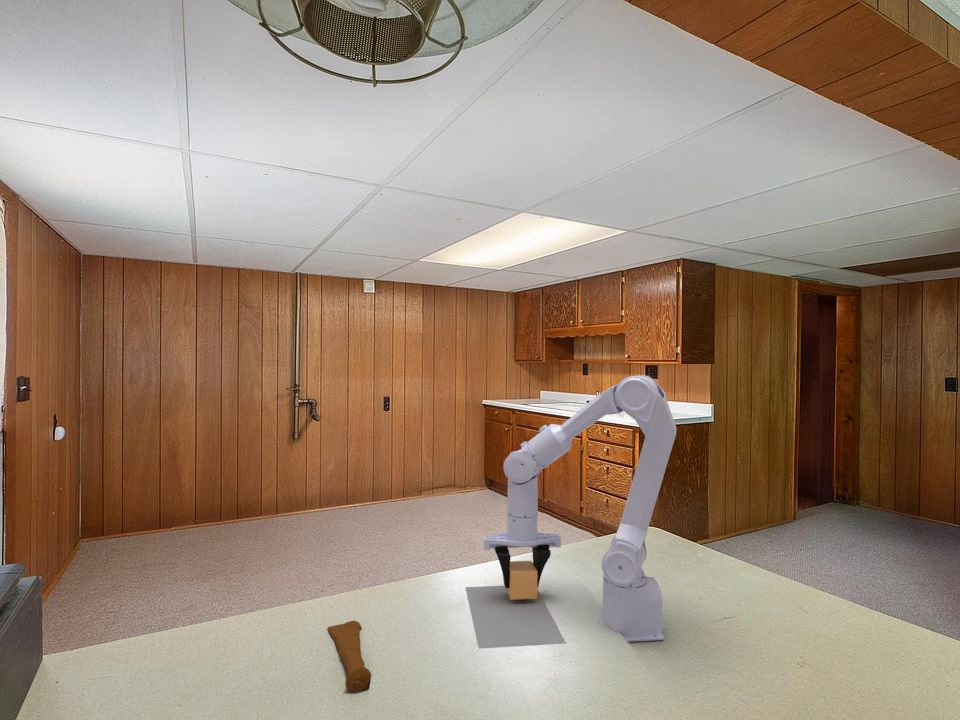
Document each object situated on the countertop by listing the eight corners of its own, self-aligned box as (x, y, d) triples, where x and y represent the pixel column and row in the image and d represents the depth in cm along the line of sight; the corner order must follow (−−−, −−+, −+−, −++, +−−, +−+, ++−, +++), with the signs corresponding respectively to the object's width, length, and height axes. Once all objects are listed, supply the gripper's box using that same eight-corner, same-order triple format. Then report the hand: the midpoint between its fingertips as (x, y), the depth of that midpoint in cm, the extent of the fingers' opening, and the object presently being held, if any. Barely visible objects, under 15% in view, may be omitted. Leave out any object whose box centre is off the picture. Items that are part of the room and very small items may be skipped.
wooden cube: (530, 586, 98) (531, 560, 98) (537, 598, 93) (537, 571, 93) (505, 587, 98) (506, 561, 98) (510, 599, 93) (510, 572, 93)
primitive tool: (326, 629, 87) (326, 609, 87) (358, 623, 89) (359, 603, 89) (345, 699, 69) (346, 674, 69) (385, 689, 72) (385, 665, 72)
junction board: (534, 591, 101) (535, 569, 101) (565, 652, 80) (566, 624, 80) (465, 594, 100) (465, 572, 99) (478, 657, 79) (479, 628, 79)
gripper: (554, 506, 100) (552, 574, 100) (481, 507, 98) (480, 577, 98) (564, 517, 93) (563, 591, 93) (486, 519, 91) (485, 594, 91)
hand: (521, 585), depth 95 cm, fingers closed on wooden cube, 5 cm apart
